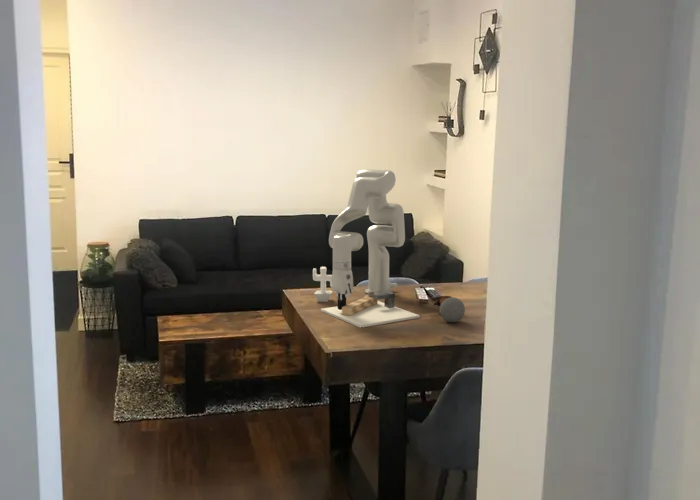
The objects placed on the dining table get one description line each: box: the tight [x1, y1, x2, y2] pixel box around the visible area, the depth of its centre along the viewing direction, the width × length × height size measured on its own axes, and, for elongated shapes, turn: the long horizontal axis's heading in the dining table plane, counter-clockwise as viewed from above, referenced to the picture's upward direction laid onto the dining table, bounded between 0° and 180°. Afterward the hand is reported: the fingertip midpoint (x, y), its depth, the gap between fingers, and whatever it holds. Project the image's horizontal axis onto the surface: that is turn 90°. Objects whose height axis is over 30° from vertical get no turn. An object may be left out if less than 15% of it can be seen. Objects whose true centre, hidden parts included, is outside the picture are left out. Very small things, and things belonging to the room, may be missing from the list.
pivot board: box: [320, 300, 420, 329], centre depth 313 cm, size 29×30×1 cm
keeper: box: [373, 291, 395, 308], centre depth 320 cm, size 9×3×6 cm, turn 123°
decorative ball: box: [439, 296, 466, 323], centre depth 301 cm, size 10×10×10 cm
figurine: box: [312, 266, 333, 303], centre depth 335 cm, size 7×9×15 cm
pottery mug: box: [433, 295, 452, 316], centre depth 317 cm, size 12×10×8 cm
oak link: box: [342, 291, 379, 315], centre depth 317 cm, size 25×6×5 cm, turn 152°
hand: (341, 308), depth 311 cm, fingers closed
